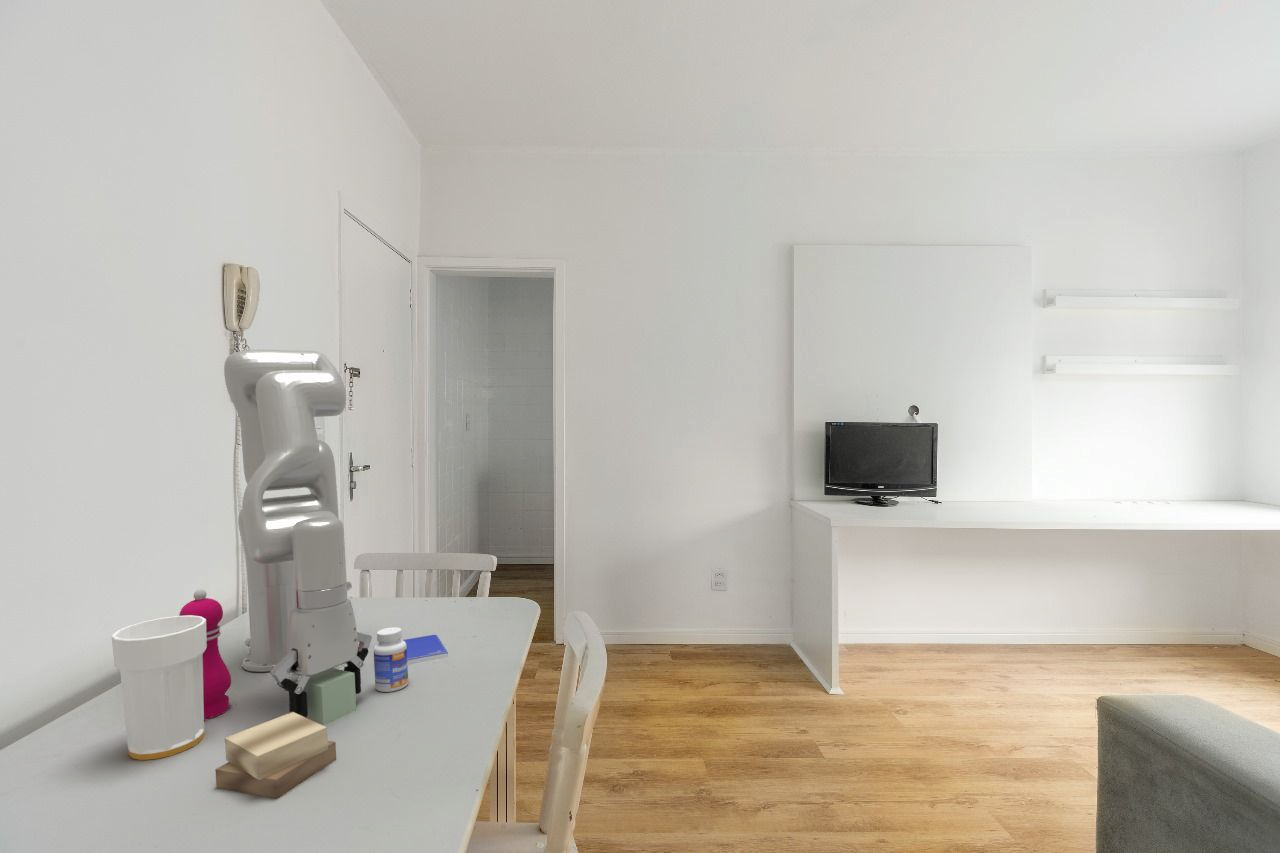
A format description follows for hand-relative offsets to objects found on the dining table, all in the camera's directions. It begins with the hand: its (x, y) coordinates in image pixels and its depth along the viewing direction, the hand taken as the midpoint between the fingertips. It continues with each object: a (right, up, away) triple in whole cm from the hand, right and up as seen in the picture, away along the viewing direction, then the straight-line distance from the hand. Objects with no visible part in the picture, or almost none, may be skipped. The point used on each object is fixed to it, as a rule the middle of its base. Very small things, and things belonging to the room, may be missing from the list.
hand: (327, 703), depth 111 cm
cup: (-20, -3, -8) cm, 21 cm away
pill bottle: (+7, -1, +10) cm, 12 cm away
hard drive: (+6, -1, +28) cm, 28 cm away
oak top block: (+1, 0, -18) cm, 18 cm away
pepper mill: (-20, -3, +2) cm, 21 cm away
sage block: (0, -2, 0) cm, 2 cm away
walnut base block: (+2, -3, -18) cm, 18 cm away
